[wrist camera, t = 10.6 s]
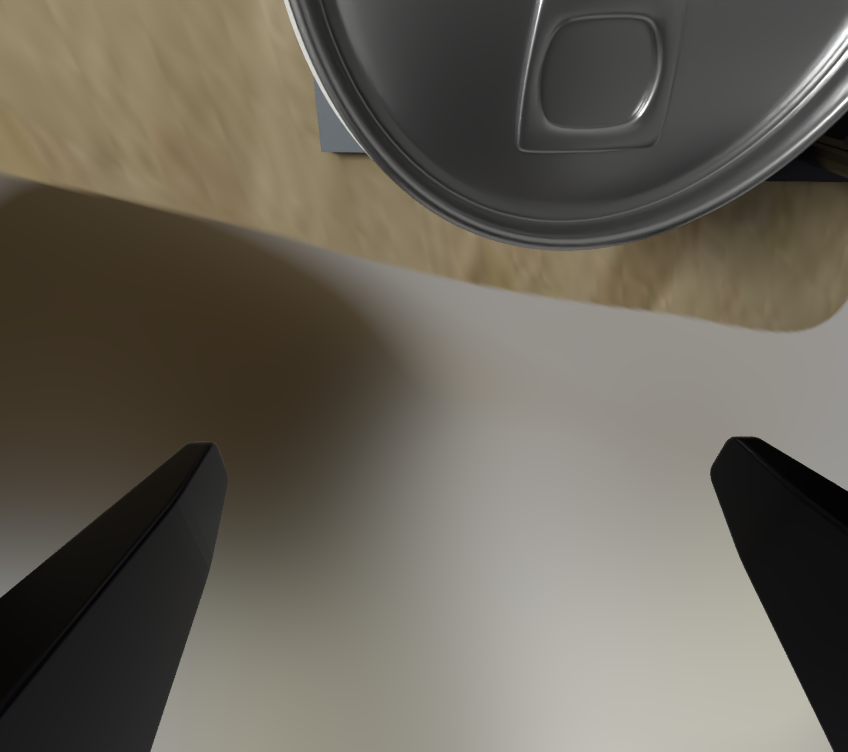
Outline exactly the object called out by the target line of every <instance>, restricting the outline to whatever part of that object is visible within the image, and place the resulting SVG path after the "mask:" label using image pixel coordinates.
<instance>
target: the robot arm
mask: <svg viewBox="0 0 848 752" xmlns="http://www.w3.org/2000/svg"><path fill="white" fill-rule="evenodd" d="M765 181H816V182H848V112H847V113H846V114H845V115H844V116H843V117H842V118H841V119H840V120H839V121H838V122H837V123H836V124H835V125H833V126H832V127H831V128H830V129H829V130H828V131H827V132H826V133H825V134H824V135H822V136H821V137H820V138H819V139H818V140H817V141H816V142H814V143H813V144H812V145H811V146H810V147H809V148H807V149H806V150H805V151H804V152H802V153H801V154H800V155H799V156H797V157H796V158H795V159H794V160H792V161H791V162H790V163H788V164H787V165H786V166H784V167H783V168H782V169H780V170H779V171H778V172H776V173H775V174H773V175H772V176H771V177H769V178H768V179H766V180H765ZM710 476H711V481H712V484H713V487H714V489H715V492H716V494H717V497H718V500H719V503H720V505H721V508H722V511H723V514H724V517H725V519H726V522H727V525H728V527H729V530H730V533H731V536H732V538H733V541H734V544H735V547H736V549H737V551H738V554H739V557H740V559H741V561H742V563H743V565H744V568H745V570H746V572H747V574H748V576H749V578H750V580H751V583H752V585H753V587H754V589H755V591H756V593H757V595H758V597H759V599H760V601H761V603H762V605H763V607H764V609H765V611H766V613H767V615H768V617H769V620H770V622H771V623H772V626H773V628H774V630H775V632H776V634H777V636H778V638H779V640H780V642H781V644H782V646H783V648H784V650H785V652H786V655H787V657H788V659H789V661H790V663H791V665H792V667H793V669H794V671H795V673H796V675H797V677H798V679H799V681H800V683H801V685H802V687H803V689H804V691H805V694H806V696H807V698H808V700H809V702H810V704H811V706H812V708H813V710H814V712H815V714H816V716H817V718H818V720H819V722H820V725H821V726H822V729H823V730H824V733H825V735H826V737H827V739H828V741H829V743H830V745H831V747H832V749H833V751H834V752H848V491H846V490H845V489H843V488H841V487H840V486H838V485H836V484H835V483H833V482H831V481H830V480H828V479H826V478H825V477H823V476H821V475H820V474H818V473H816V472H815V471H813V470H811V469H809V468H808V467H806V466H805V465H803V464H801V463H800V462H798V461H796V460H795V459H793V458H791V457H790V456H788V455H786V454H785V453H783V452H781V451H780V450H778V449H776V448H774V447H773V446H771V445H770V444H768V443H766V442H765V441H763V440H761V439H759V438H756V437H731V438H730V439H728V440H727V442H726V443H725V444H724V446H723V448H722V450H721V451H720V453H719V455H718V456H717V458H716V460H715V461H714V463H713V465H712V467H711V472H710ZM227 485H228V475H227V471H226V468H225V466H224V463H223V460H222V457H221V454H220V452H219V449H218V447H217V445H216V444H215V443H214V442H191V443H188V444H186V445H185V446H183V447H182V448H181V449H180V450H179V451H177V452H176V453H175V454H174V455H173V456H171V457H170V458H169V459H168V460H167V461H165V462H164V463H163V464H162V465H160V466H159V467H158V468H157V469H156V470H154V471H153V472H152V473H151V474H150V475H148V476H147V477H146V478H145V479H144V480H142V481H141V482H140V483H139V484H138V485H137V486H135V487H134V488H133V489H131V490H130V491H129V492H128V493H127V494H125V495H124V496H123V497H122V498H121V499H119V500H118V501H117V502H116V503H115V504H113V505H112V506H111V507H110V508H109V509H107V510H106V511H105V512H104V513H102V514H101V515H100V516H99V517H98V518H96V519H95V520H94V521H93V522H92V523H90V524H89V525H88V526H87V527H86V528H84V529H83V530H82V531H81V532H80V533H78V534H77V535H76V536H75V537H73V538H72V539H71V540H70V541H69V542H67V543H66V544H65V545H64V546H63V547H61V548H60V549H59V550H58V551H57V552H55V553H54V554H53V555H52V556H51V557H49V558H48V559H47V560H46V561H45V562H43V563H42V564H41V565H40V566H39V567H37V568H36V569H35V570H34V571H32V572H31V573H30V574H29V575H27V576H26V577H25V578H24V579H23V580H21V581H20V582H19V583H18V584H17V585H16V586H14V587H13V588H12V589H11V590H9V591H8V592H7V593H6V594H5V595H3V596H2V597H1V598H0V752H150V751H151V748H152V745H153V742H154V739H155V736H156V732H157V729H158V726H159V723H160V720H161V717H162V714H163V711H164V708H165V705H166V702H167V699H168V696H169V693H170V690H171V687H172V684H173V681H174V678H175V675H176V672H177V669H178V666H179V662H180V659H181V657H182V653H183V650H184V647H185V644H186V641H187V638H188V635H189V632H190V629H191V626H192V623H193V620H194V617H195V614H196V611H197V608H198V605H199V602H200V599H201V596H202V593H203V590H204V586H205V584H206V580H207V577H208V574H209V570H210V566H211V562H212V558H213V553H214V548H215V544H216V539H217V534H218V529H219V524H220V520H221V515H222V510H223V505H224V500H225V496H226V491H227Z"/></svg>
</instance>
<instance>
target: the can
mask: <svg viewBox="0 0 848 752" xmlns="http://www.w3.org/2000/svg"><path fill="white" fill-rule="evenodd" d="M284 1H285V5H286V8H287V11H288V14H289V17H290V20H291V23H292V26H293V29H294V32H295V34H296V37H297V39H298V42H299V44H300V47H301V49H302V52H303V54H304V56H305V58H306V61H307V63H308V65H309V67H310V69H311V71H312V73H313V75H314V77H315V79H316V81H317V83H318V85H319V87H320V89H321V91H322V92H323V94H324V96H325V97H326V99H327V101H328V103H329V104H330V106H331V107H332V109H333V110H334V112H335V114H336V115H337V117H338V118H339V120H340V121H341V122H342V124H343V125H344V127H345V128H346V129H347V131H348V132H349V133H350V134H351V136H352V137H353V138H354V140H355V141H356V142H357V143H358V144H359V146H360V147H361V148H362V149H363V150H364V151H365V152H366V153H367V154H368V156H369V157H370V158H371V159H372V160H373V161H374V162H375V163H376V164H377V165H378V166H379V167H380V168H381V170H382V171H383V172H384V173H385V174H386V175H387V176H388V177H389V178H390V179H391V180H392V181H393V182H395V183H396V184H397V185H398V186H399V187H400V188H401V189H402V190H403V191H405V192H406V193H407V194H408V195H410V196H411V197H412V198H413V199H415V200H416V201H417V202H419V203H420V204H421V205H423V206H424V207H426V208H427V209H429V210H430V211H432V212H433V213H435V214H436V215H438V216H440V217H441V218H443V219H445V220H446V221H448V222H450V223H452V224H454V225H456V226H458V227H460V228H462V229H465V230H467V231H469V232H471V233H474V234H476V235H479V236H482V237H485V238H488V239H491V240H494V241H497V242H501V243H505V244H509V245H514V246H519V247H524V248H532V249H540V250H557V251H573V250H588V249H598V248H605V247H611V246H617V245H622V244H626V243H631V242H635V241H639V240H642V239H646V238H649V237H652V236H656V235H659V234H662V233H664V232H667V231H670V230H673V229H675V228H678V227H680V226H683V225H685V224H688V223H690V222H692V221H694V220H697V219H699V218H701V217H703V216H705V215H707V214H709V213H711V212H713V211H715V210H717V209H719V208H721V207H722V206H724V205H726V204H728V203H730V202H731V201H733V200H735V199H737V198H738V197H740V196H742V195H743V194H745V193H746V192H748V191H750V190H751V189H753V188H754V187H756V186H757V185H759V184H760V183H762V182H763V181H765V180H766V179H768V178H769V177H771V176H772V175H773V174H775V173H776V172H778V171H779V170H780V169H782V168H783V167H784V166H786V165H787V164H788V163H790V162H791V161H792V160H794V159H795V158H796V157H797V156H799V155H800V154H801V153H802V152H804V151H805V150H806V149H807V148H809V147H810V146H811V145H812V144H813V143H814V142H816V141H817V140H818V139H819V138H820V137H821V136H822V135H824V134H825V133H826V132H827V131H828V130H829V129H830V128H831V127H832V126H833V125H835V124H836V123H837V122H838V121H839V120H840V119H841V118H842V117H843V116H844V115H845V114H846V113H847V112H848V0H284Z"/></svg>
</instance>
